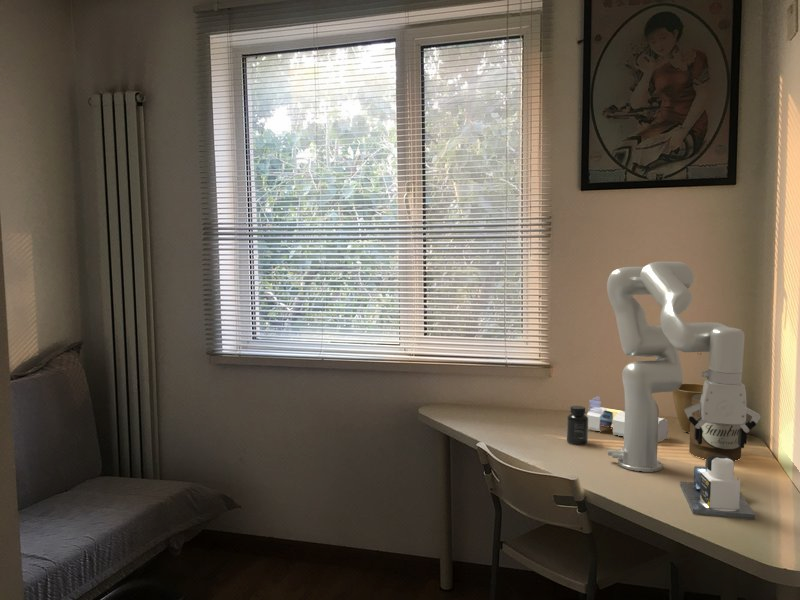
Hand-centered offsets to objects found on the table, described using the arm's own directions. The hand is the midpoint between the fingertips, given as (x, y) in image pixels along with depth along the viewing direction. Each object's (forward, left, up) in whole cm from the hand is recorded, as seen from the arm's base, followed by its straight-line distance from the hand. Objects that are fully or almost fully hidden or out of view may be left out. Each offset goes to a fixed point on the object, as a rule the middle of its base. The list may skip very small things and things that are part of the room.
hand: (719, 444), depth 167 cm
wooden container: (+8, +46, -17) cm, 50 cm away
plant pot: (+6, +73, -17) cm, 75 cm away
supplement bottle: (-34, +49, -17) cm, 62 cm away
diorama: (-17, +64, -17) cm, 68 cm away
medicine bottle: (0, -1, -15) cm, 15 cm away
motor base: (0, +4, -16) cm, 17 cm away
